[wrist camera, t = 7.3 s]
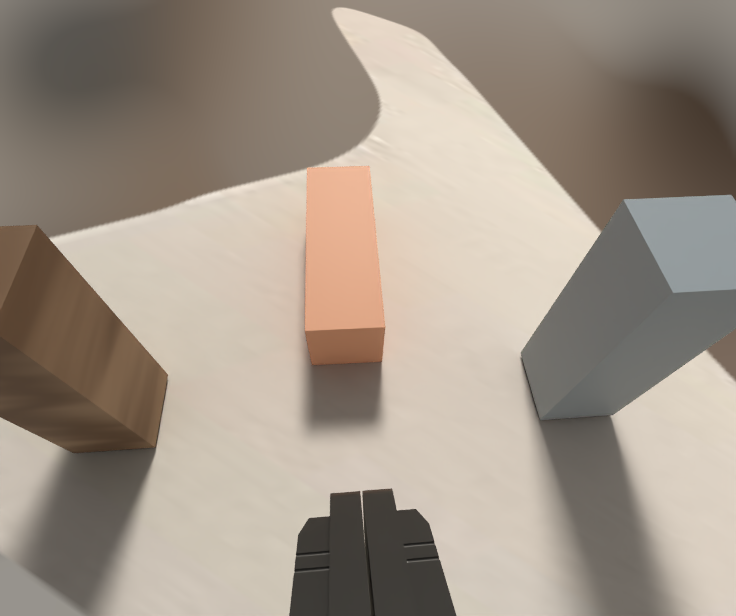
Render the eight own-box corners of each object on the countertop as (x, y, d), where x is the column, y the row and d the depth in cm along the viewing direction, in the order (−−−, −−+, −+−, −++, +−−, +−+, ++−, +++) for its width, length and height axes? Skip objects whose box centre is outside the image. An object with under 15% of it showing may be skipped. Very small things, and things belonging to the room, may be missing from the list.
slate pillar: (540, 420, 24) (673, 292, 14) (520, 352, 26) (623, 199, 16) (612, 415, 24) (796, 285, 14) (587, 348, 26) (731, 194, 16)
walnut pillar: (73, 453, 23) (-159, 339, 12) (93, 379, 25) (-91, 230, 15) (155, 447, 23) (-9, 330, 13) (167, 374, 25) (37, 224, 15)
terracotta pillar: (304, 330, 22) (307, 167, 29) (312, 365, 26) (312, 212, 32) (384, 327, 22) (369, 165, 29) (381, 361, 26) (368, 210, 32)
